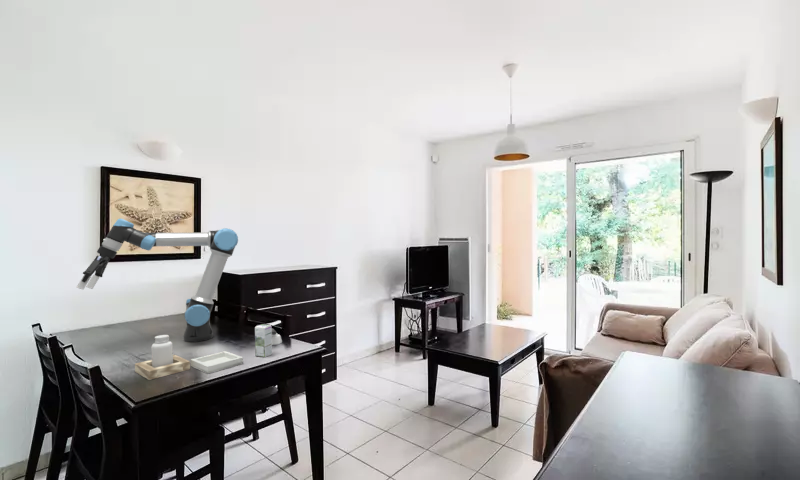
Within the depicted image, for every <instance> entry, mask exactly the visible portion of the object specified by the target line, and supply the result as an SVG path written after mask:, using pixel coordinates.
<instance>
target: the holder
mask: <svg viewBox="0 0 800 480" xmlns="http://www.w3.org/2000/svg"><path fill="white" fill-rule="evenodd" d="M189 370H191V360H187V359H186V358H184V357H181V356H179V355H176V354H173V364H169V365H164V366H160V367H156V368H153V367H152V359H150V360H145V361H140V362H136V363H134V372H135V373H136V374H138V375H140V376H142V377H143V378H144V379H147V380H148V381H150V380H155V379H158V378H162V377H166V376H169V375H174V374H178V373H180V372H185V371H189Z"/></svg>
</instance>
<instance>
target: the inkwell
mask: <svg viewBox="0 0 800 480" xmlns="http://www.w3.org/2000/svg"><path fill="white" fill-rule="evenodd" d="M282 343H283V340H282V336H281V335H280V334H278V333H277V331H276V330H275V329H274V328H272V346H277V345H280V344H282Z"/></svg>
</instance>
